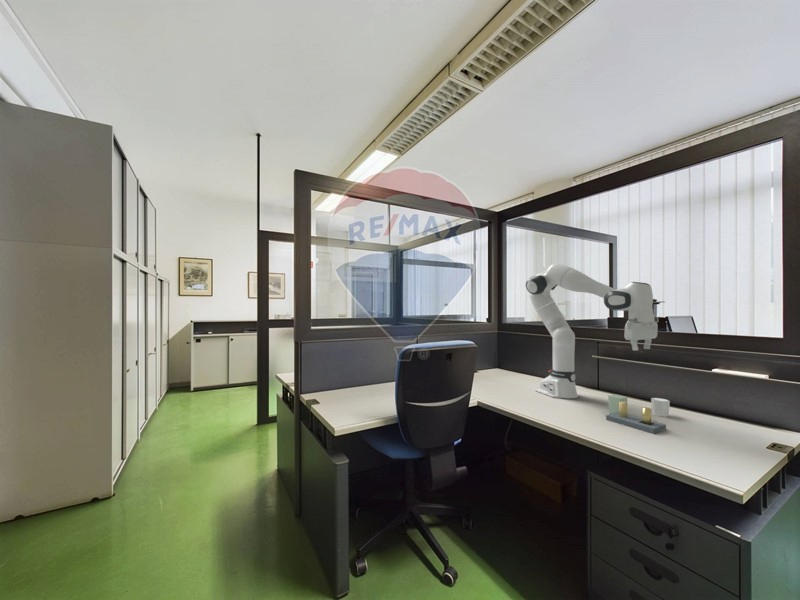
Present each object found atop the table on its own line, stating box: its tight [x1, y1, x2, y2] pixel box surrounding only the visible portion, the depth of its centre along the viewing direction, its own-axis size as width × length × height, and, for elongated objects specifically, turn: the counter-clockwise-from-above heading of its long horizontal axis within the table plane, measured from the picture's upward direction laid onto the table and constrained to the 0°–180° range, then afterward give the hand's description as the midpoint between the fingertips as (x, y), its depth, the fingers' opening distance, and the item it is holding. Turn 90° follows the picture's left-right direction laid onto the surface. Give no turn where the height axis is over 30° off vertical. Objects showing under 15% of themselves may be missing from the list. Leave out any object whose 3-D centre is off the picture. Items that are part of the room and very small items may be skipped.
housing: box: [608, 394, 628, 414], centre depth 151 cm, size 5×5×8 cm
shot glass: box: [650, 397, 671, 418], centre depth 149 cm, size 7×7×7 cm
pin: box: [641, 406, 653, 426], centre depth 133 cm, size 3×3×8 cm
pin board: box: [605, 402, 667, 435], centre depth 137 cm, size 18×10×8 cm, turn 28°
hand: (641, 349), depth 142 cm, fingers open, 8 cm apart
